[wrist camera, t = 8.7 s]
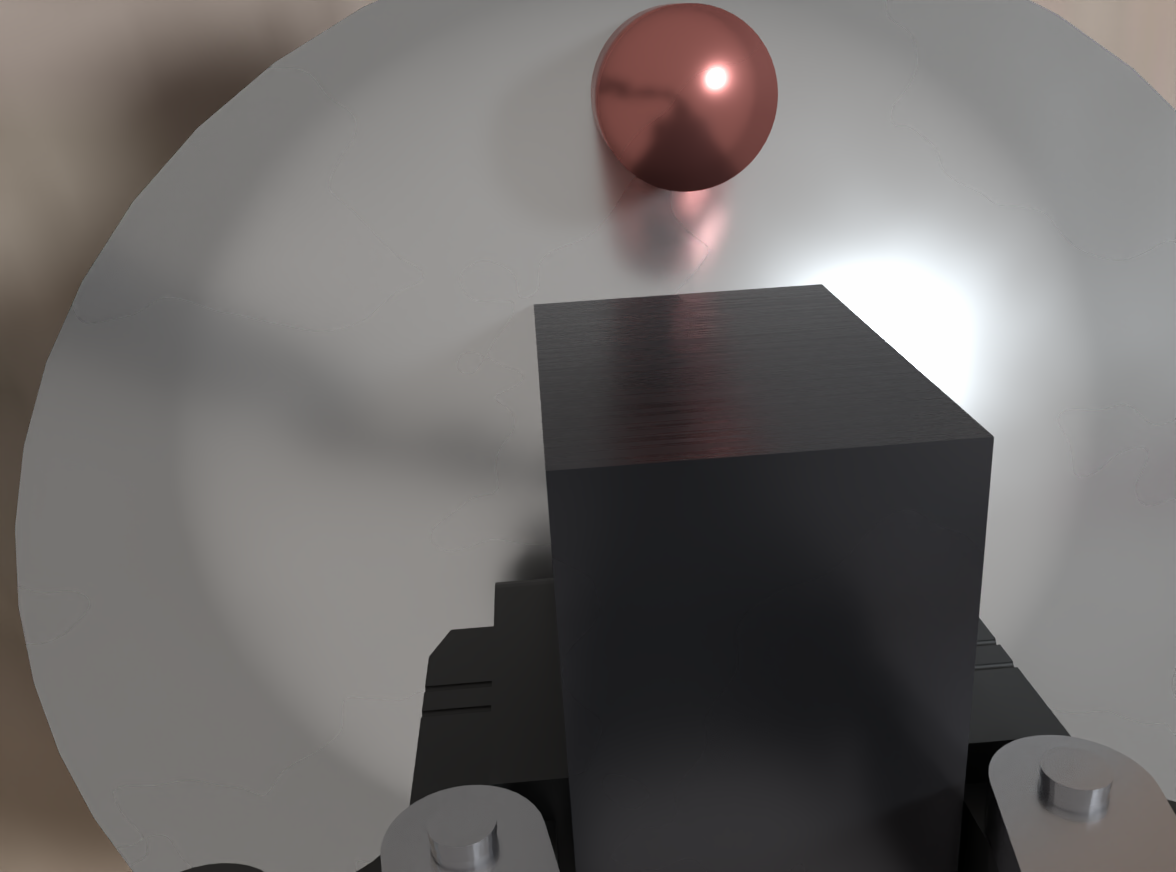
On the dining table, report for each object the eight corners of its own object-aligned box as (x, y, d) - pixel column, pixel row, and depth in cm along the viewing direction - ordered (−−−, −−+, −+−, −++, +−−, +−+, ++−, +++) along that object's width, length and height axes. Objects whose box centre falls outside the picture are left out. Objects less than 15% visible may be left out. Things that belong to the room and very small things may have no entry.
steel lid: (186, 1064, 16) (35, 1556, 11) (-98, -27, 11) (-657, -60, 6) (1169, 969, 17) (1461, 1394, 12) (1365, -110, 12) (2070, -211, 6)
